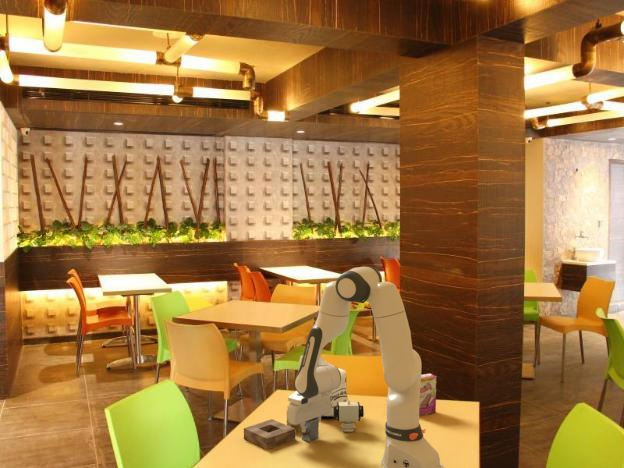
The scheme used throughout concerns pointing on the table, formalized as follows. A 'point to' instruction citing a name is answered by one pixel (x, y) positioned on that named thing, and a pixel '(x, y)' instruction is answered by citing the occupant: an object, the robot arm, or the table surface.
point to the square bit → (311, 430)
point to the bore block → (269, 433)
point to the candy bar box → (427, 394)
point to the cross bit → (297, 427)
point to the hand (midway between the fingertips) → (310, 429)
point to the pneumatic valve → (348, 414)
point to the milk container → (338, 393)
